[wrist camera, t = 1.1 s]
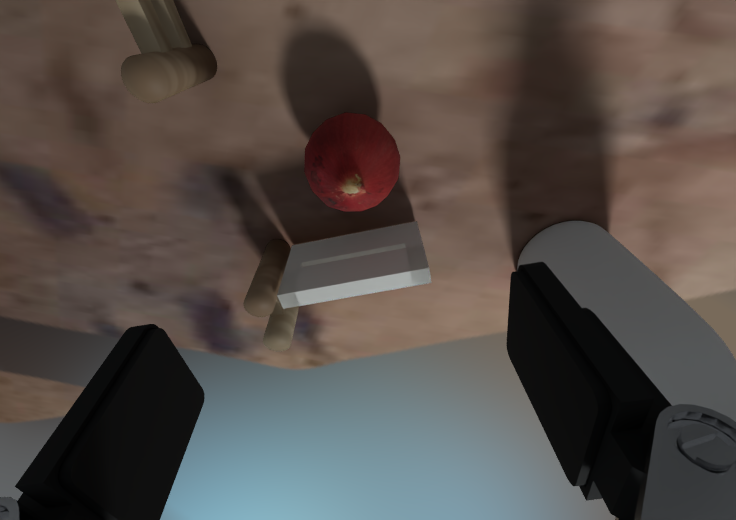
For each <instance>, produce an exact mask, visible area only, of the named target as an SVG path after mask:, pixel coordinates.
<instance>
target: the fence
mask: <svg viewBox="0 0 736 520" xmlns="http://www.w3.org/2000/svg"><path fill="white" fill-rule="evenodd" d="M116 2H117V4H118V7H119V9H120V11H121V13H122V15H123V17H124V19H125V21H126V23H127V25H128V27H129V29H130V31H131V33H132V35H133V37H134V39H135V41H136V43H137V45H138V47H139V49H140V51H141V53H142V54H138V55H133V56H130V57H128V58H127V59H125V61H124V62H123V64H122V67H121V76H122V80H123V82H124V85H125V86H126V88H127V89H128V91H129V92H130V93H131V94H132V95H133V96H134V97H136V98H137V99H139V100H141V101H143V102H146V103H157V102H159V101H162V100H164V99H166V98H168V97H171V96H173V95H175V94H178V93H180V92H182V91H184V90H187V89H189V88H191V87H194V86H196V85H198V84H201V83H203V82H205V81H207V80H210V79H211V78H213V77H214V75H215V74H216V71H217V62H216V59H215V57H214V55H213V53H212V52H211V51H210V50H209V49H208V48H207V47H205V46H203V45H200V44H191V42H190V39H189V37H188V35H187V32H186V30H185V28H184V25H183V23H182V20H181V18H180V16H179V13H178V11H177V8H176V6H175V4H174V1H173V0H116ZM290 251H291V249H290V246H289V245H288V244H287V243H286V242H285V241H283V240H279V239H275V240H272V241H270V242H269V243H268V244H267V246H266V249H265V251H264V254H263V256H262V259H261V261H260V263H259V266H258V268H257V271H256V273H255V276H254V278H253V280H252V283H251V285H250V288H249V290H248V293H247V295H246V298H245V300H244V308H245V310H246V311H247V312H248V313H249V314H251V315H253V316H256V317H266V316H268V315H270V318H269V321H268V324H267V328H266V331H265V334H264V338H263V343H264V345H265V346H266V347H267V348H268V349H270V350H272V351H285V350H287V349H288V348H289V347H290V345H291V341H292V337H293V332H294V327H295V323H296V318H297V313H298V309H299V306H296V307H291V308H285V309H283V307H282V305H281V303H280V301H279V299H278V296H277V294H278V290H279V287H280V284H281V281H282V277H283V274H284V271H285V267H286V264H287V261H288V257H289V254H290Z"/></svg>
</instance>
